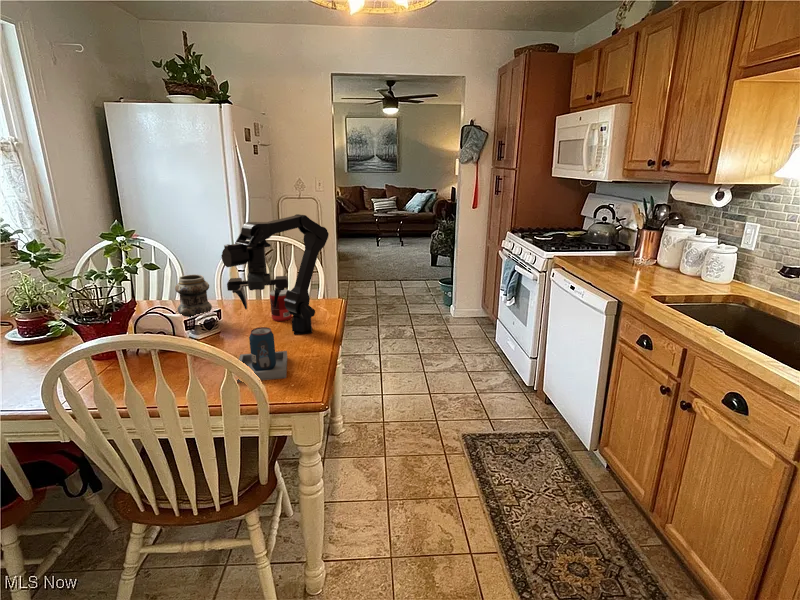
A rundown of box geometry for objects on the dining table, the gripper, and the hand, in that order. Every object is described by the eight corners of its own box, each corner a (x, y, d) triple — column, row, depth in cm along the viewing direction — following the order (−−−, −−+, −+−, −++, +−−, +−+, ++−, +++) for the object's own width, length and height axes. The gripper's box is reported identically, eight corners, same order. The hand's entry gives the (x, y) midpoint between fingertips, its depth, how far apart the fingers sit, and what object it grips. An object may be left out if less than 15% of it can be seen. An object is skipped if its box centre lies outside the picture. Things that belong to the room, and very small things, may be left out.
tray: (287, 358, 144) (286, 350, 143) (286, 378, 131) (285, 370, 130) (241, 361, 141) (240, 354, 140) (235, 382, 128) (234, 374, 127)
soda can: (266, 361, 140) (263, 324, 137) (281, 367, 136) (278, 329, 133) (247, 368, 135) (243, 331, 131) (262, 375, 131) (258, 336, 127)
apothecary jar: (217, 322, 174) (212, 277, 169) (184, 329, 167) (177, 282, 161) (208, 314, 183) (202, 271, 178) (175, 321, 176) (169, 276, 170)
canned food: (294, 315, 183) (292, 288, 180) (289, 321, 176) (287, 294, 172) (275, 314, 183) (273, 288, 180) (269, 321, 176) (267, 294, 172)
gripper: (222, 268, 136) (227, 317, 141) (285, 266, 140) (289, 314, 145) (227, 261, 147) (232, 306, 151) (286, 258, 150) (289, 303, 155)
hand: (260, 308), depth 150 cm, fingers open, 9 cm apart
